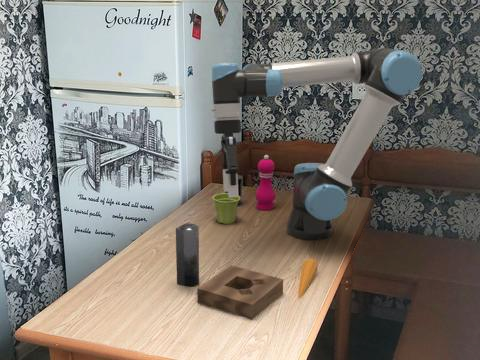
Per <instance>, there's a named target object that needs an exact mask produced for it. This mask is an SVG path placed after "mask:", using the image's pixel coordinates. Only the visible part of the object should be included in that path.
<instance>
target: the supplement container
mask: <svg viewBox="0 0 480 360" xmlns="http://www.w3.org/2000/svg"><path fill="white" fill-rule="evenodd" d="M243 179H244V178H243V175H239V174H238V196H240V200H239V203H238V206H241V205H242V204H243ZM223 193H228V191H227V192H224V191H223Z"/></svg>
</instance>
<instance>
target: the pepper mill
mask: <svg viewBox="0 0 480 360" xmlns="http://www.w3.org/2000/svg"><path fill="white" fill-rule="evenodd" d="M257 169H258V171H259V172H258V176H259V178H260V181H259V182H260V183H259V186H258V188H257V190H256V192H255V199H256V200H257V202H256V209H258V210H260V211H270V210H273V209H274V207H275V206H274V205H275V204H274V200H276V192H275V190H274V187H273V184H272V178H273V176H274V175H273V174H274V172H273V171H274V170H275V162H274V161H273V160H272V159H270V157H269V154H265V155H264V156H263V159H261V160H259V162H258V164H257Z"/></svg>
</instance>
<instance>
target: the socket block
mask: <svg viewBox="0 0 480 360" xmlns="http://www.w3.org/2000/svg"><path fill="white" fill-rule="evenodd" d="M196 290H197V291H196V292H197V293H196V296H197V297H196V300H197V303H198V304H200V305H204V306H207V307H211V308H214V309H217V310H219V311H224V312H225V313H230V314H232V315H236V316H239V317H243V318H244V319H245V318H246V319H248V320H252V321H253V320H254V319H255V318H257V316H258V315H260V314H261V313H262V312H264V310H265V309H266V308H268V307H269V306H271V304H273V302H275V301H276V300H277V299H278V298H279V297H280V296H282V295H283V294H284V279H283V278H280V277H276V276H273V275H269V274H265V273H261V272H257V271H254V270H250V269H247V268H244V267H243V268H242V267H239V266H235V265H229V266H227V267H226V268H224V269H223V270H222V271H220V272H218V273H217V274H216V275H214V276H213V277H212V278H210V279H209V280H207V281H205V282H204V283H203V284H201V285H200V286H198V287H197V288H196ZM282 293H283V294H282Z"/></svg>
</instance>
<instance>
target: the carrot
mask: <svg viewBox="0 0 480 360" xmlns="http://www.w3.org/2000/svg"><path fill="white" fill-rule="evenodd" d="M300 272H301V273H300V278H299V284H298V285H299V286H298V296H297V299H298V298H300V297H301V296H302V297H303V295H304V294H305V293H306V291H307V289H308V288H307V287H309V286H310V284H311V282H312V280H313V279H314V278H315V276H316V274H317V272H318V262H317V261H316V260H315V258H307V259H305V261H303V262H302V266H301V271H300ZM308 285H309V286H308ZM305 290H306V291H305ZM304 292H305V293H304ZM303 293H304V294H303ZM302 294H303V295H302ZM302 297H301V298H302ZM301 298H300V299H301Z"/></svg>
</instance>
